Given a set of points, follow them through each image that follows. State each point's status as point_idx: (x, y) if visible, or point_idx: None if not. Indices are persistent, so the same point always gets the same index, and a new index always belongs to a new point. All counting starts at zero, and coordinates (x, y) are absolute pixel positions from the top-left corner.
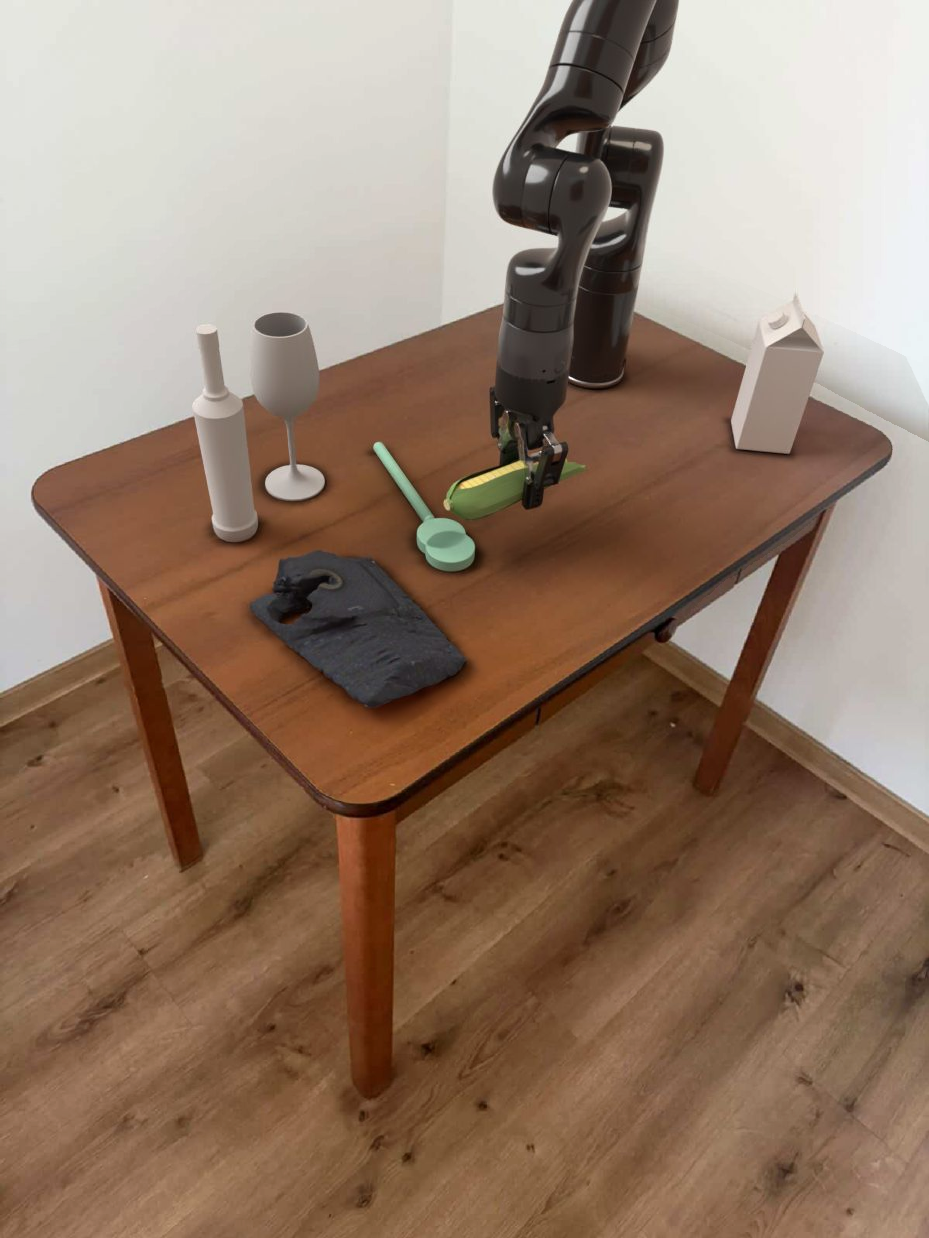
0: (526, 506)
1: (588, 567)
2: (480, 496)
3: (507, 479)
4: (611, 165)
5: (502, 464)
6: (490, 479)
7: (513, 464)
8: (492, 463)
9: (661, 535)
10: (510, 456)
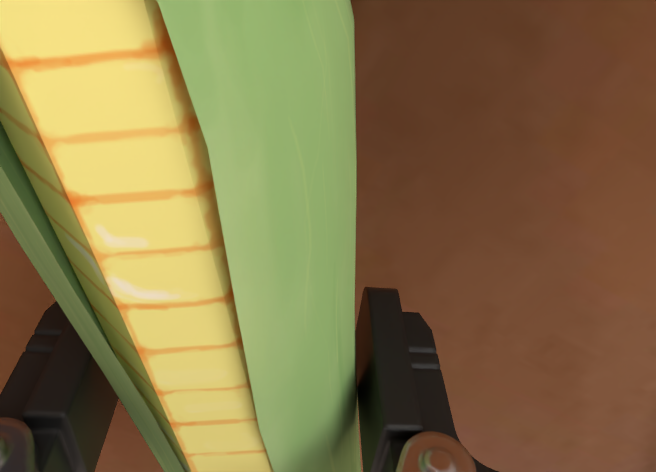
0: None
1: (5, 272)
2: None
3: (102, 350)
4: None
5: (375, 365)
6: (117, 261)
7: (247, 435)
8: (617, 283)
9: (104, 444)
10: (371, 435)
